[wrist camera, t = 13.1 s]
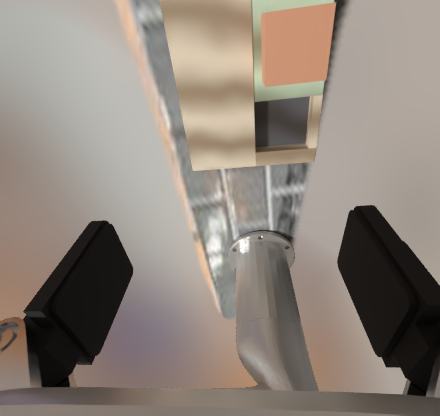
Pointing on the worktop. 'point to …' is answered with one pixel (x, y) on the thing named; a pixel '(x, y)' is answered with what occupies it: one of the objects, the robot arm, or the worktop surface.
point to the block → (296, 44)
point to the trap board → (237, 87)
